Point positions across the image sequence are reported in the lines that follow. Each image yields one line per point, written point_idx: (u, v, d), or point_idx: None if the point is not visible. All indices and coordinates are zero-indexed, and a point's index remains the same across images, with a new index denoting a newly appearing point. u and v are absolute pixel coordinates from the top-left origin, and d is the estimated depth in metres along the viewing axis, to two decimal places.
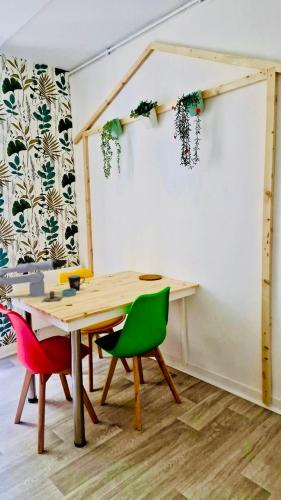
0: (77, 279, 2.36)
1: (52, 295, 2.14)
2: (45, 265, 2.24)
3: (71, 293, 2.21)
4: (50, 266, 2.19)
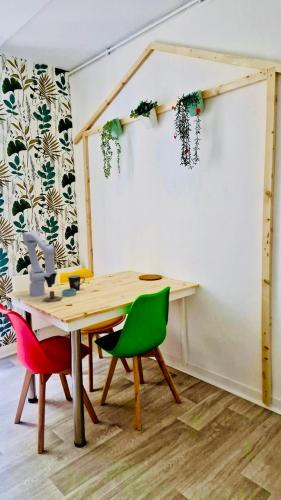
0: (77, 279, 2.36)
1: (52, 295, 2.14)
2: (49, 266, 2.10)
3: (71, 293, 2.21)
4: (47, 275, 2.06)
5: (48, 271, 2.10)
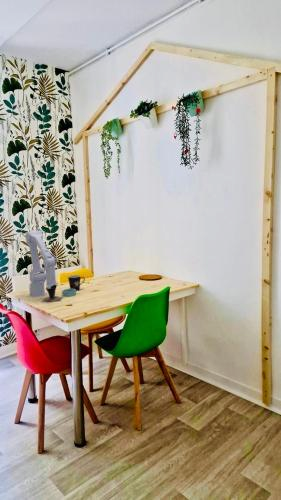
0: (77, 279, 2.36)
1: None
2: (50, 278, 2.11)
3: (71, 293, 2.21)
4: (48, 287, 2.07)
5: (49, 283, 2.11)
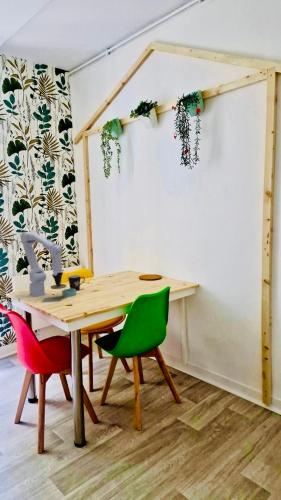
0: (77, 279, 2.36)
1: None
2: (56, 265, 2.14)
3: (71, 293, 2.21)
4: (54, 273, 2.10)
5: (55, 270, 2.14)
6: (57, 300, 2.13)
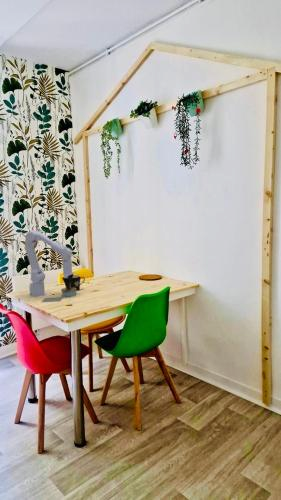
0: (77, 279, 2.36)
1: None
2: (67, 268, 2.20)
3: (71, 293, 2.21)
4: (65, 276, 2.17)
5: (66, 272, 2.21)
6: (57, 300, 2.13)
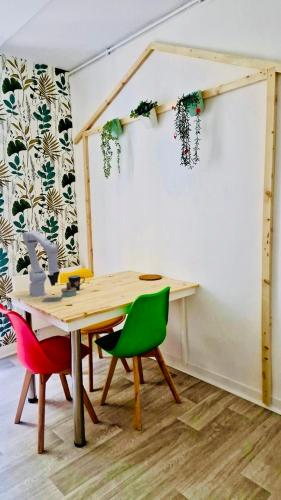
0: (77, 279, 2.36)
1: (69, 286, 2.24)
2: (52, 265, 2.10)
3: (71, 293, 2.21)
4: (50, 273, 2.06)
5: (51, 269, 2.10)
6: (57, 300, 2.13)
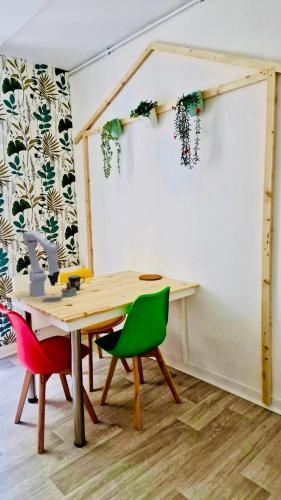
0: (77, 279, 2.36)
1: (69, 286, 2.24)
2: (52, 265, 2.10)
3: (71, 293, 2.21)
4: (50, 273, 2.06)
5: (51, 269, 2.10)
6: (57, 300, 2.13)
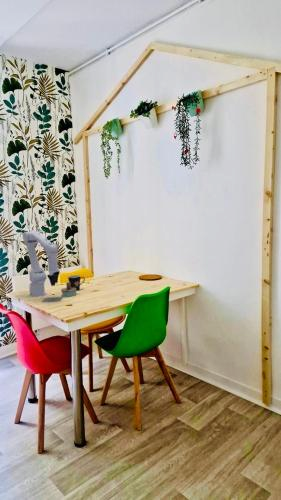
0: (77, 279, 2.36)
1: (69, 286, 2.24)
2: (52, 265, 2.10)
3: (71, 293, 2.21)
4: (50, 273, 2.06)
5: (51, 269, 2.10)
6: (57, 300, 2.13)
